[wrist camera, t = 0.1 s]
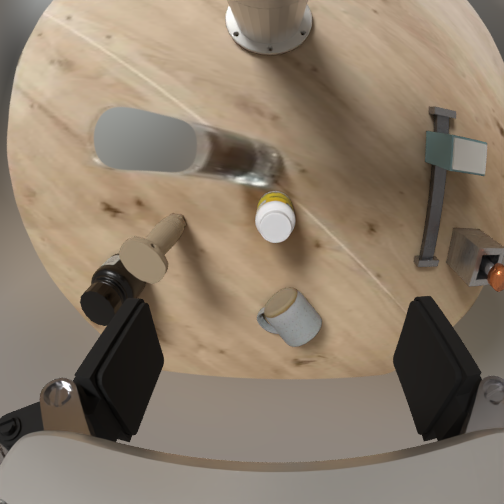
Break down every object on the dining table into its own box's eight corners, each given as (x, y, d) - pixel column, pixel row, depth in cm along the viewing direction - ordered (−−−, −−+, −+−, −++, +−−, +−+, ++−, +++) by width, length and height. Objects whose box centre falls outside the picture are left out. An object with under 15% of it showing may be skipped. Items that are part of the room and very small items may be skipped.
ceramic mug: (295, 277, 51) (297, 303, 44) (320, 308, 53) (325, 335, 46) (247, 307, 54) (243, 334, 47) (274, 334, 56) (273, 362, 50)
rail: (428, 106, 36) (434, 106, 35) (449, 111, 36) (456, 111, 34) (413, 261, 48) (417, 266, 46) (432, 261, 47) (437, 266, 46)
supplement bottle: (299, 203, 45) (305, 224, 36) (279, 229, 47) (280, 256, 38) (270, 183, 44) (269, 199, 35) (250, 211, 46) (245, 234, 37)
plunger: (473, 248, 40) (498, 269, 33) (488, 248, 40) (513, 268, 32) (467, 268, 41) (491, 292, 34) (482, 268, 41) (506, 290, 34)
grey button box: (453, 228, 44) (479, 248, 36) (480, 229, 44) (507, 248, 36) (446, 262, 47) (468, 286, 39) (472, 261, 47) (496, 284, 39)
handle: (184, 243, 49) (153, 290, 36) (154, 220, 48) (113, 259, 34) (200, 222, 48) (172, 264, 34) (169, 198, 46) (129, 232, 33)
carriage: (423, 130, 38) (453, 135, 30) (456, 136, 37) (488, 143, 29) (421, 160, 40) (451, 171, 32) (454, 165, 39) (486, 176, 31)
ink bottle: (115, 242, 50) (80, 273, 39) (154, 266, 52) (127, 303, 41) (101, 279, 54) (71, 313, 43) (137, 302, 56) (113, 340, 45)
